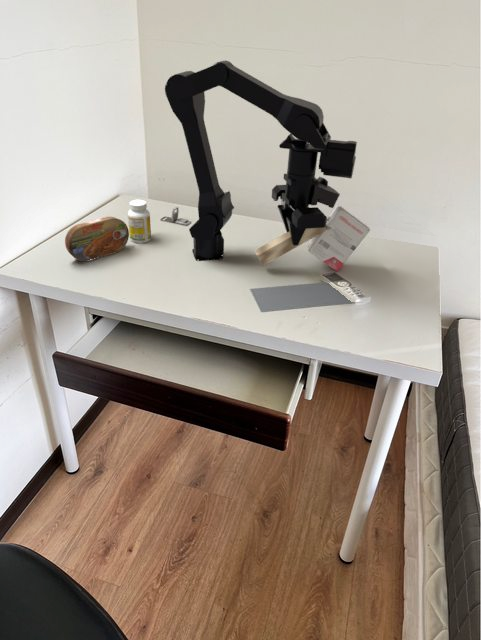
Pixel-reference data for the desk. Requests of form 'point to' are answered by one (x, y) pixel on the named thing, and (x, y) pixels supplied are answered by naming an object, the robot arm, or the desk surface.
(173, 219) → the strap clip
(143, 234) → the supplement bottle
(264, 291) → the tool mat
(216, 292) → the desk surface
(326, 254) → the ink box
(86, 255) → the tin
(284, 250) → the beech stick
